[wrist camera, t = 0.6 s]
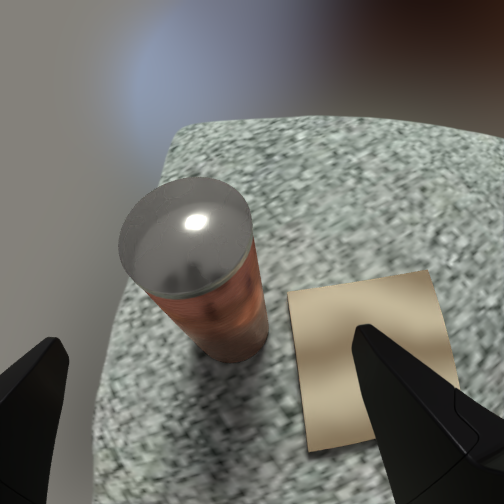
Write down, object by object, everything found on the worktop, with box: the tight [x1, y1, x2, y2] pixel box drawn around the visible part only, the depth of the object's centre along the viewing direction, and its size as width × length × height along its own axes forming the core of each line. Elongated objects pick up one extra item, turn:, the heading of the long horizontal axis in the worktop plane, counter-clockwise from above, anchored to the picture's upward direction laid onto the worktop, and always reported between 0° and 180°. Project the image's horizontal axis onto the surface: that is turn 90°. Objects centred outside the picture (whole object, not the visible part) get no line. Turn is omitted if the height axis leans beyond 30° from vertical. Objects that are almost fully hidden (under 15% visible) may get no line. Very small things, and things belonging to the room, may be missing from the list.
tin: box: [118, 177, 269, 363], centre depth 18 cm, size 6×6×13 cm
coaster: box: [287, 270, 460, 452], centre depth 21 cm, size 12×12×1 cm
